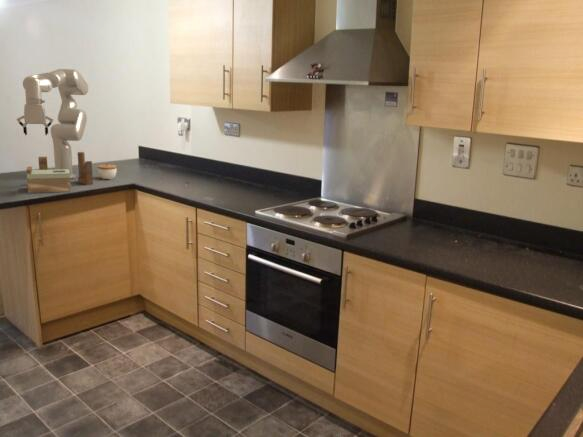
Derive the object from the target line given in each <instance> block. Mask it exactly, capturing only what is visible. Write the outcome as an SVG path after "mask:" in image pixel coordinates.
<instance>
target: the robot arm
mask: <svg viewBox="0 0 583 437" xmlns="http://www.w3.org/2000/svg"><path fill="white" fill-rule="evenodd" d="M22 86H23V89H24V92H25V93H24V95H25V104H24V106H23V107H24V110H23V113H24V114H23V115H22V116H20V117H18V118H16V121H17V122H18V124H19V125H20V126H22V128H23V134H24V136H27V135H28V128H27V125H43V126H44V132H45V134H44V135H45V136H48V135H49V127H50V126H51V125H52V126H51V127H50V135H51V139H52V143H53V144H52V146H53V158H54V170H57V169H69V174H70V180H71V179H75V178H76V177H77V174H75V173H74V172H73V170H74V169H73V156H72V147H71V145H70V143H69V142H71V141H72V142H73V141H75V142H78V141H80V140H82V138H83V135H84V132H85V128H86V125H87V119H88V118H87V114H86V111H85V110H83V109H81V108H77V107H78V104H77V103H78V102H76V100H75V99H74V97H73V96H86V95H87V94H88V93H89V85H88V82H87V81H86V79H85V77H83V76H82V74H81V73H80V72H79V71H78V70H76V69H73V68H72V69H71V68H69V69H67V68H57V69H55V70H52V71H50V72H42V73H37V74H36V73H35V74H31V75H28V76H26V77H25V78H24V79H23V81H22ZM55 88H58V92H59V95H60V98H61V104H60V108H59V111H58V114H57V120H58V123H55V124H52V123H53V122H54V119H53V118H51V117H48V116H47V115H46V109H45V106H44V105H45V103H46V100H45V99H42V93H49V92H50V91H52V90H53V89H55ZM23 119H24V123H23V122H22V120H23ZM47 120H48V121H49V122H48V123H46V122H47ZM68 141H69V142H68Z"/></svg>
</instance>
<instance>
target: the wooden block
mask: <svg viewBox="0 0 583 437" xmlns="http://www.w3.org/2000/svg"><path fill="white" fill-rule="evenodd" d="M85 158H86V157H85V152H84V151H78V152H77V165H78V166H77V168H78V177H77V182H78V183H79V184H83V185H85V186H90V185H91V186H92V185H94V181H93V180H94V179H93V163H92V162H93V161H92V160H89V161H88V160H87V161H86V159H85Z"/></svg>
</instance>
